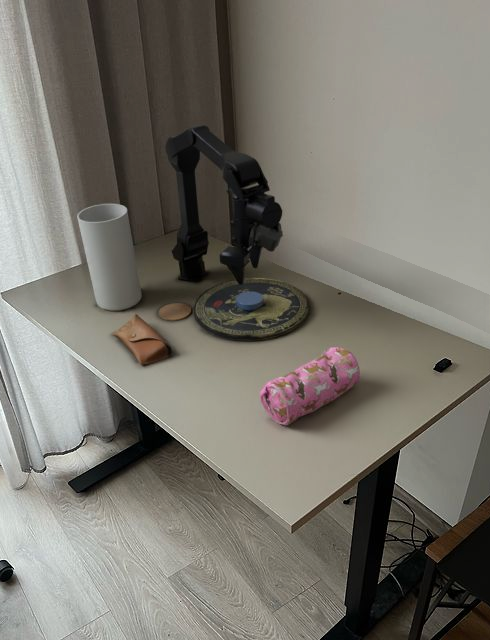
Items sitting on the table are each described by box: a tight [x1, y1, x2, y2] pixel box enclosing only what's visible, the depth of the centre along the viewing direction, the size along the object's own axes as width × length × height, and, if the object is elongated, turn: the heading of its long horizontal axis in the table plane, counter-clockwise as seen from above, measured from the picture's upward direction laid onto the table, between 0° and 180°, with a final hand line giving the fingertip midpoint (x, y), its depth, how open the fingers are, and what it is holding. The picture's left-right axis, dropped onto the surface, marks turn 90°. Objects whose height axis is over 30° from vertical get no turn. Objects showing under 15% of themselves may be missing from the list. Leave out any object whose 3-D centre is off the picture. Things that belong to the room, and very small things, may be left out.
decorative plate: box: [192, 277, 309, 342], centre depth 156 cm, size 30×2×30 cm
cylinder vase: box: [76, 203, 143, 312], centre depth 159 cm, size 12×12×25 cm
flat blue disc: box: [236, 292, 263, 311], centre depth 154 cm, size 7×7×2 cm
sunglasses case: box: [112, 313, 173, 366], centre depth 146 cm, size 18×7×7 cm, turn 32°
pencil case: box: [259, 346, 361, 426], centre depth 122 cm, size 21×9×9 cm, turn 128°
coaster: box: [158, 302, 192, 322], centre depth 159 cm, size 9×9×1 cm
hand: (248, 275), depth 150 cm, fingers open, 9 cm apart
